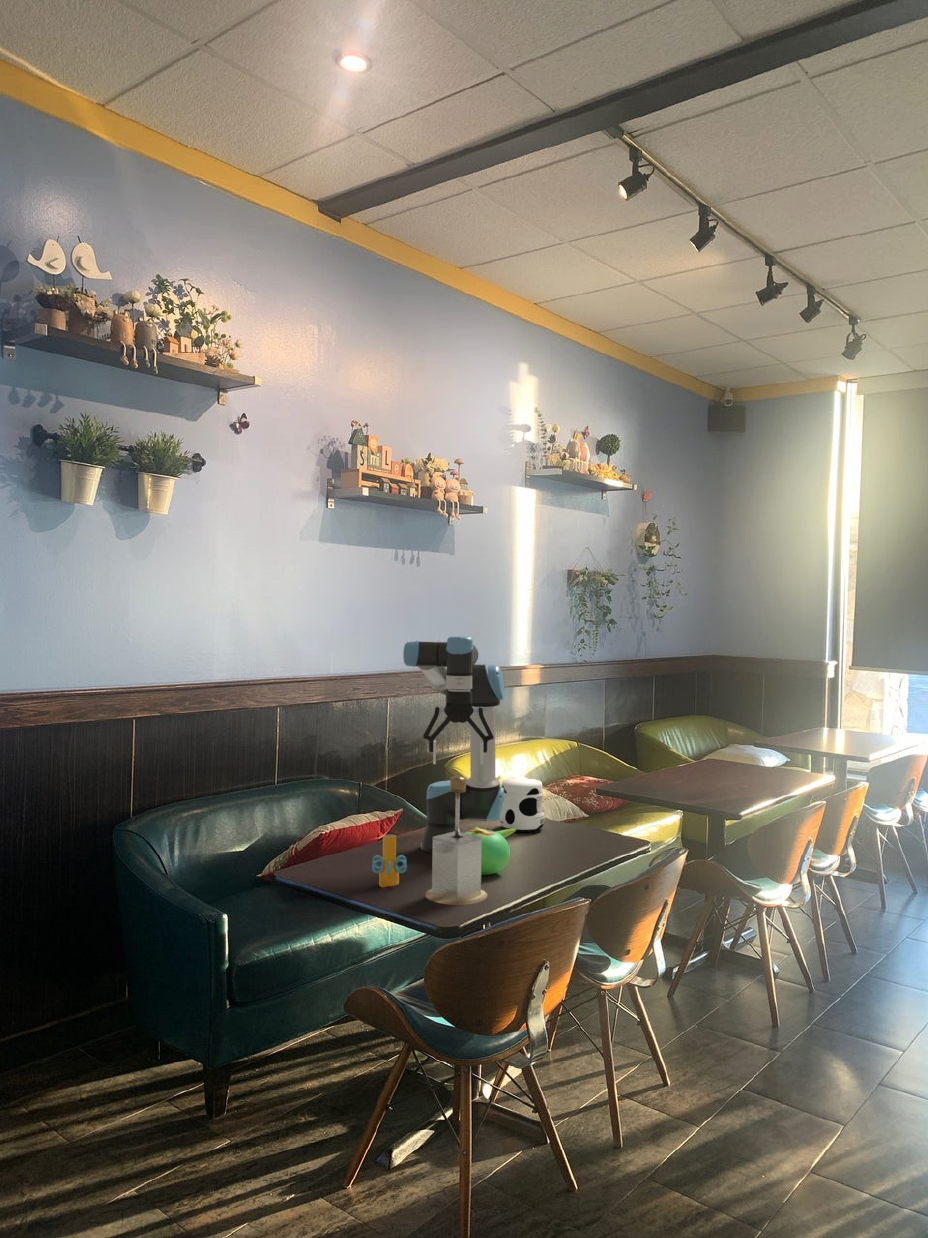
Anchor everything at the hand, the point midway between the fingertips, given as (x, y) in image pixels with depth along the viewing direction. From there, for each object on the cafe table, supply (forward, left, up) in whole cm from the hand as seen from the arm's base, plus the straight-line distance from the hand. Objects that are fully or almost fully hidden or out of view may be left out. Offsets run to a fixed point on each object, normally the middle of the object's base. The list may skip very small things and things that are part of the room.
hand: (458, 763), depth 271 cm
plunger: (0, 0, -24) cm, 24 cm away
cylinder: (-22, -6, -39) cm, 45 cm away
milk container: (-39, +78, -39) cm, 96 cm away
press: (0, 0, -38) cm, 38 cm away
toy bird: (-11, +24, -39) cm, 47 cm away
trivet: (0, 0, -39) cm, 39 cm away
